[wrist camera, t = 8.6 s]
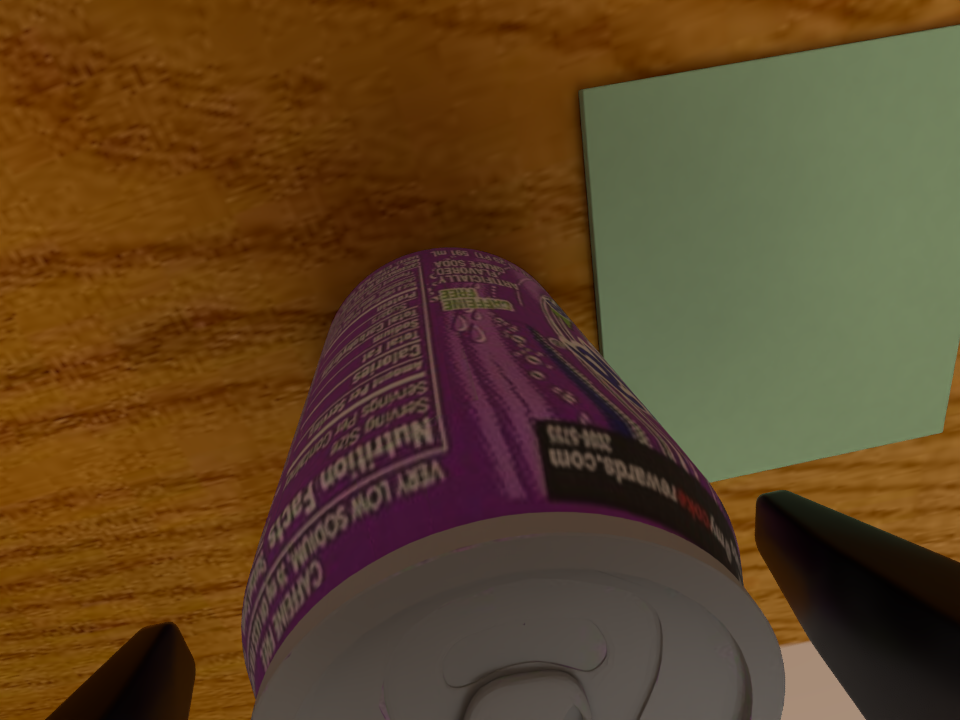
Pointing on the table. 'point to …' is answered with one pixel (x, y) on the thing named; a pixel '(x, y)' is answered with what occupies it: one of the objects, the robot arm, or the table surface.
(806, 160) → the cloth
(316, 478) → the beverage can
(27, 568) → the table surface
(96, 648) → the table surface
